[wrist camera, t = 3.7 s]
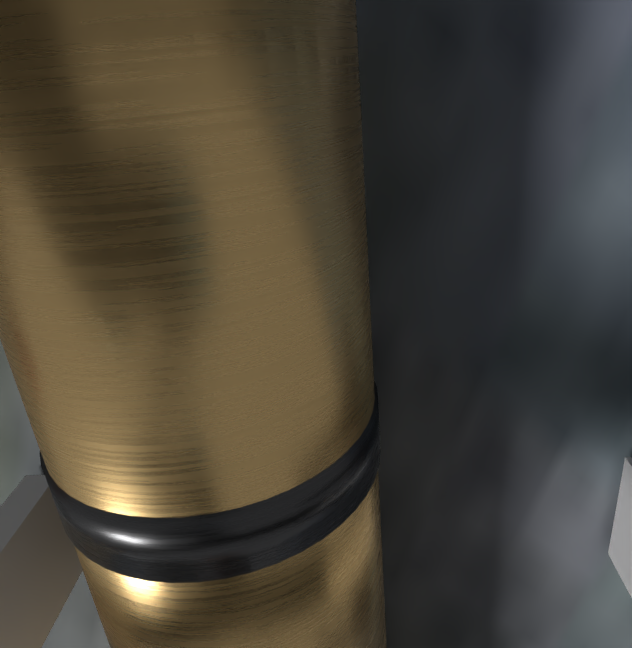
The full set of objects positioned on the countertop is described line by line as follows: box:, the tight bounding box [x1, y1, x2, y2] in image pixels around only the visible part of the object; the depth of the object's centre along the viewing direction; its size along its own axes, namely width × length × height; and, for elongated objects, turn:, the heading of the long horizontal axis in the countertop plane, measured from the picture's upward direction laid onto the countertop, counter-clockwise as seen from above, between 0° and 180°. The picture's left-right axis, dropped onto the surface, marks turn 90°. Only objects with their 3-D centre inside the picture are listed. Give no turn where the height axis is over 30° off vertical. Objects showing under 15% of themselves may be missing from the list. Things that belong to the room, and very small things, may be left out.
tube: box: [0, 0, 387, 648], centre depth 11 cm, size 20×5×5 cm
